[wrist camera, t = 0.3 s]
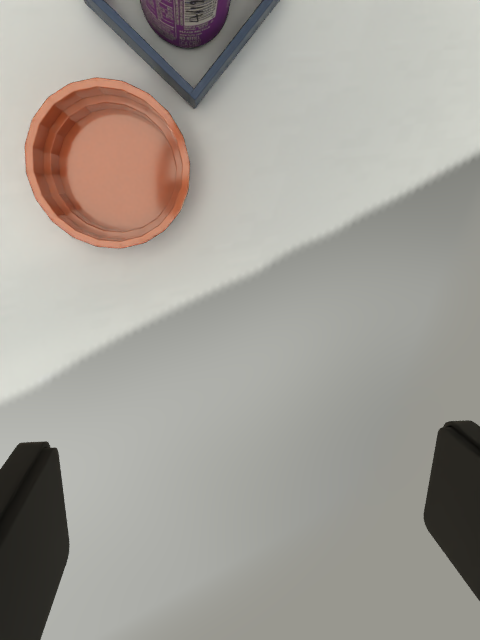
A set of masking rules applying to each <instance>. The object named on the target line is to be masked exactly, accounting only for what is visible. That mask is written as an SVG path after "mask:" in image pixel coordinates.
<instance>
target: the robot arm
mask: <svg viewBox="0 0 480 640" xmlns="http://www.w3.org/2000/svg"><path fill="white" fill-rule="evenodd" d="M424 522H425V525H426V527H427V529H428V531H429V532H430V534H431V535H432V536H433V538H434V539H435V541H436V542H437V543H438V545H439V546H440V547H441V549H442V550H443V552H444V553H445V554H446V555H447V557H448V558H449V560H450V561H451V562H452V564H453V565H454V567H455V568H456V569H457V571H458V572H459V573H460V575H461V576H462V577H463V579H464V580H465V582H466V583H467V584H468V586H469V587H470V588H471V590H472V591H473V593H474V594H475V595H476V597H477V598H478V599H479V601H480V426H478V425H477V424H476V423H474V422H472V421H450V422H447V423H445V425H444V427H443V428H440V430H439V431H438V435H437V441H436V447H435V452H434V458H433V464H432V470H431V475H430V481H429V487H428V492H427V498H426V504H425V509H424ZM68 554H69V536H68V528H67V519H66V511H65V503H64V494H63V487H62V478H61V470H60V462H59V454H58V450H57V448H50V445H49V443H48V442H27V443H19V444H18V445H17V447H16V448H15V449H14V451H13V452H12V454H11V455H10V456H9V458H8V459H7V461H6V462H5V464H4V465H3V466H2V468H1V469H0V640H40V639H41V636H42V633H43V630H44V627H45V624H46V621H47V618H48V615H49V613H50V610H51V606H52V604H53V601H54V598H55V595H56V592H57V589H58V586H59V583H60V580H61V577H62V574H63V571H64V568H65V566H66V562H67V559H68Z"/></svg>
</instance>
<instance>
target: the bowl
mask: <svg viewBox="0 0 480 640" xmlns="http://www.w3.org/2000/svg"><path fill="white" fill-rule="evenodd" d="M25 161H26V174H27V177H28V180H29V182H30V185H31V188H32V191H33V193H34V196H35V198H36V200H37V202H38V203H39V204H40V206H41V207H42V208H43V210H44V211H45V212H46V214H47V215H48V217H49V218H50V219H51V220H52V222H54V223H55V224H56V225H58V226H59V227H60V228H61V229H63V230H64V231H65V232H67V233H68V234H69V235H71V236H72V237H73V238H76V239H79V240H81V241H84V242H86V243H89V244H91V245H94V246H97V247H108V248H126V247H130V246H134V245H138V244H143V243H146V242H147V241H149V240H150V239H152V238H153V237H155V236H157V235H158V234H160V233H161V232H163V231H164V230H166V228H167V227H168V226H169V225H170V224H171V222H172V221H173V220H174V219H175V217H176V216H177V215H178V214H179V213H180V211H181V209H182V207H183V204H184V201H185V199H186V196H187V193H188V190H189V174H190V161H189V157H188V153H187V149H186V145H185V141H184V138H183V135H182V134H181V132H180V130H179V128H178V127H177V125H176V123H175V121H174V120H173V118H172V116H171V115H170V113H169V112H168V111H167V110H166V109H165V108H164V107H163V106H162V105H161V104H160V103H159V102H157V101H156V100H155V99H154V98H153V97H152V96H151V95H150V94H148V93H147V92H145V91H143V90H141V89H139V88H137V87H135V86H133V85H130V84H128V83H126V82H123V81H120V80H112V79H105V78H91V79H87V80H82V81H77V82H73V83H70V84H68V85H66V86H65V87H63V88H62V89H60V90H59V91H57V92H56V93H54V94H53V95H51V96H49V97H48V98H47V99H46V101H45V102H44V103H43V105H42V106H41V108H40V109H39V110H38V112H37V113H36V115H35V116H34V117H33V120H32V121H31V125H30V128H29V132H28V135H27V139H26V143H25Z"/></svg>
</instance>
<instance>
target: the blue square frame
mask: <svg viewBox="0 0 480 640" xmlns="http://www.w3.org/2000/svg"><path fill="white" fill-rule="evenodd" d="M84 1H85V3H86V4H87V5H88V6H89V7H90V8H91V9H92V10H93V11H94V12H95V13H96V14H97V15H98V16H99V17H100V18H101V19H102V20H103V21H104V22H105V23H106V24H107V25H108V26H109V27H111V28H112V29H113V30H114V31H115V32H116V33H117V34H118V35H119V36H120V37H121V38H122V39H123V40H124V41H125V42H126V43H127V44H128V45H129V46H130V47H131V48H132V49H133V50H134V51H135V52H136V53H137V54H138V55H139V56H141V57H142V58H143V59H144V60H145V61H146V62H147V63H148V64H149V65H150V66H151V67H152V68H153V69H154V70H155V71H156V72H157V73H158V74H159V75H160V76H161V77H162V78H163V79H164V80H165V81H166V82H167V83H168V84H170V85H171V86H172V87H173V88H174V89H175V90H176V91H177V92H178V93H179V94H180V95H181V96H182V97H183V98H184V99H185V100H186V101H187V102H188V103H190V105H191V106H192V107H193V108H196V106H197V105H198V104H199V102H200V101H201V100H202V99H203V97H204V96H205V95H206V94H207V92H208V91H209V90H210V88H211V87H212V86H213V85H214V83H215V82H216V81H217V80H218V78H219V77H220V76H221V74H222V73H223V72H224V71H225V69H226V68H227V67H228V66H229V64H230V63H231V62H232V60H233V59H234V58H235V57H236V55H237V54H238V53H239V52H240V50H241V49H242V48H243V46H244V45H245V44H246V43H247V41H248V40H249V39H250V38H251V36H252V35H253V34H254V32H255V31H256V30H257V29H258V27H259V26H260V25H261V24H262V22H263V21H264V20H265V18H266V17H267V16H268V15H269V13H270V12H271V11H272V10H273V8H274V7H275V6H276V4H277V3H278V2H279V1H280V0H263V1H262V2H261V4H260V5H259V6H258V8H257V9H256V10H255V11H254V13H253V14H252V15H251V16H250V18H249V19H248V20H247V22H246V23H245V24H244V25H243V27H242V28H241V29H240V31H239V32H238V33H237V34H236V36H235V37H234V38H233V40H232V41H231V42H230V43H229V45H228V46H227V47H226V49H225V50H224V51H223V52H222V54H221V55H220V56H219V58H218V59H217V60H216V61H215V63H214V64H213V65H212V67H211V68H210V69H209V70H208V72H207V73H206V74H205V76H204V77H203V78H202V79H201V81H200V82H199V83H198V84H197V86H196V87H195V88H194V89H193V87H192V86H191V85H190V84H189V83H188V82H186V81H185V80H184V79H183V78H182V77H181V76H180V75H179V74H178V73H177V72H176V71H175V70H174V69H173V68H172V67H171V66H170V65H169V64H168V63H167V62H166V61H165V60H164V59H163V58H162V57H161V56H160V55H159V54H158V53H157V52H156V51H155V50H154V49H153V48H152V47H151V46H150V45H149V44H148V43H147V42H146V41H145V40H144V39H143V38H142V37H141V36H140V35H139V34H138V33H137V32H136V31H135V30H134V29H133V28H132V27H131V26H129V25H128V24H127V23H126V22H125V21H124V20H123V19H122V18H121V17H120V16H119V15H118V14H117V13H116V12H115V11H114V10H113V9H112V8H111V7H110V6H109V5H108V4H107V3H106V2H105V1H104V0H84Z"/></svg>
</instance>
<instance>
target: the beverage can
mask: <svg viewBox="0 0 480 640" xmlns="http://www.w3.org/2000/svg"><path fill="white" fill-rule="evenodd" d="M230 1H231V0H140V2H141V6H142V10H143V13H144V15H145V17H146V19H147V21H148V23H149V24H150V26H151V27H152V29H153V30H154V31H155V32H156V33H157V34H158V35H159V36H160V37H161V38H162V39H164V40H165V41H167V42H169V43H170V44H173V45H175V46H179V47H184V48H193V47H198V46H201V45H204V44H206V43H207V42H209V41H211V40H212V39H213V38H214V37H215V36H216V35H217V34H218V33H219V32H220V30H221V29H222V27H223V25H224V23H225V21H226V18H227V15H228V11H229V6H230Z"/></svg>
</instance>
